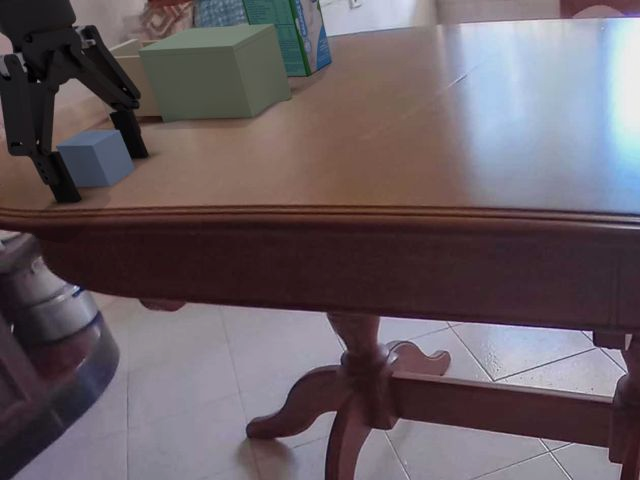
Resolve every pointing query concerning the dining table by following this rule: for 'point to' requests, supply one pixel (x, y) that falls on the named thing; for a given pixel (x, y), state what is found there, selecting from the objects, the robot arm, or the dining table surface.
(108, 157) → the block
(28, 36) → the robot arm
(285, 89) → the cabinet
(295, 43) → the milk carton
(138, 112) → the drawer
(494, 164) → the dining table surface
